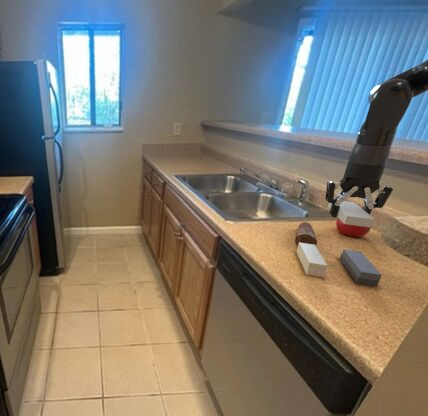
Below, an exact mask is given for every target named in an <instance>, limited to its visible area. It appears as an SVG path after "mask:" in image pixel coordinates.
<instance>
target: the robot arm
mask: <svg viewBox="0 0 428 416" xmlns="http://www.w3.org/2000/svg"><path fill="white" fill-rule="evenodd" d="M427 91H428V59H426V60H424V61H423V62H421V63H419V64H418V65H416V66H413V67H412V68H409V69H406V70H405V71H403V72H401V73H398V74H396V75H394V76H392V77H391V78H388V79H386V80H384V81H383V82H381V83H378V84H377V85H376V86H374V87H373V89H372V90H371V91H370V92H369V94H368V97H367V101H368V104H369V108H368V111H367V114H366V117H365V120H364V122H362V124H361V126H360V128H359V130H358V134H357V137H356V140H355V143H354V144H353V147H352V149H351V152H350V155H349V156H348V160H347V164H346V168H345V170H344V173H343V176H342V179H341V180H340V181H332V180H328V181H327V183H326V189H325V197H324V199H325V201H327V203H328V204H329V203H332V205H331V209H329V215H330V216H331V217H332V218H338V217H337V214H338V211H339V208H340V206H339V205H340V204H341V203H342V202H343V201H347V200H348V199H349V198H359V199H362V201H363V205H364V206H362V207H361V208H362V209H363V210H364V211H366V212H367V213H368V214H370V215H371V213H372V210H373V209H374V210H375V209H382V208H384V206H385V204H386V202H387V201H388V199H389V197H390V196H391V195H392V192H393V190H394V189H393V187H391V186H389V185H387V184H385V185H381V184H380V181H381V179H382V177H383V174H384V171H385V168H386V166H387V163H388V160H389V158H390V154H391V149H392V146H393V143H394V140H395V138H396V134H397V132H398V128H399V125H400V124H401V122H402V120H403V119H404V116H405V115H406V113H407V110H408V109H409V107H410V104H411V103H412V99H413V98H416V97H418V96H419V95H421V94H423V93H426V92H427ZM338 187H340V189H341V190H340V191H339V192H338V193H337V195H336V196H335V190H338ZM377 190H378V191H377ZM376 191H377V192H378V194H377V196H376V198H375V200H374V199H373V195H372V194H373V193H375V192H376Z"/></svg>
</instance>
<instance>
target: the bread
mask: <svg viewBox="0 0 428 416" xmlns="http://www.w3.org/2000/svg"><path fill="white" fill-rule="evenodd" d="M296 230H297V231H296V234H295V238H294V242H295V244H296V245H297V246H298V245H299V243H306V244H314V245H315V246H317V244H318V240H317V237H316V234H315V231H314V228H313V225H312V224H311V222H308V221H303V222H300V223H299V224H298V228H297V229H296Z"/></svg>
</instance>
